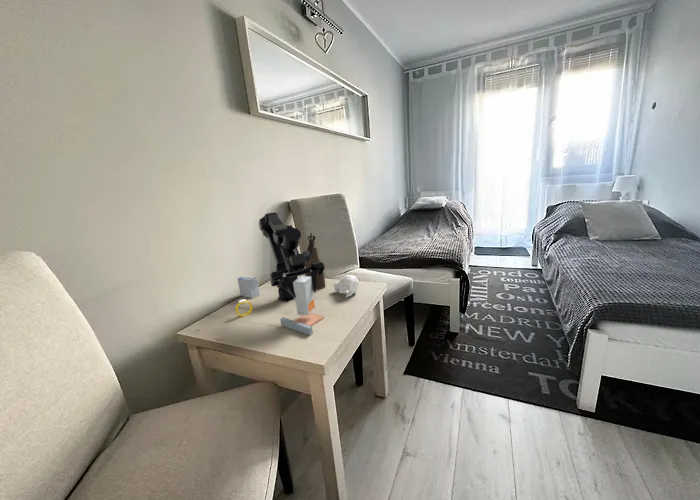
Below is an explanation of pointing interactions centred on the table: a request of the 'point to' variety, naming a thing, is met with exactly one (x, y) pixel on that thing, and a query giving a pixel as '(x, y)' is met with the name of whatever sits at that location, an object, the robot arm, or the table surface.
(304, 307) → the skincare box
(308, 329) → the low wall
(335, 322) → the table surface
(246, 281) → the medicine box
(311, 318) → the terracotta tile
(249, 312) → the watch
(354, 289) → the white animal figurine
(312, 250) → the statue
